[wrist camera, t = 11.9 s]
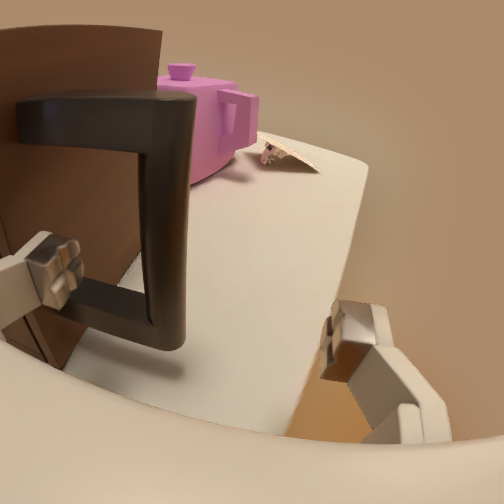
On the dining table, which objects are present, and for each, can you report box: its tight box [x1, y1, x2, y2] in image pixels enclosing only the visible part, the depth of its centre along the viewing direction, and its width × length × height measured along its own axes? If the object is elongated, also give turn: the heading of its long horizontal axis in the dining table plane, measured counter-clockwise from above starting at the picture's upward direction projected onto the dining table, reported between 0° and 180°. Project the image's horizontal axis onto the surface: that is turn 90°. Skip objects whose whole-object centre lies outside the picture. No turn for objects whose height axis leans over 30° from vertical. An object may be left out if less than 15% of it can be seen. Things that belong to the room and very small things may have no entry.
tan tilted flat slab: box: [257, 131, 321, 172], centre depth 42 cm, size 7×10×3 cm
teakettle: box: [157, 63, 259, 185], centre depth 34 cm, size 17×17×12 cm
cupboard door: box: [0, 25, 197, 369], centre depth 14 cm, size 7×14×15 cm, turn 171°
